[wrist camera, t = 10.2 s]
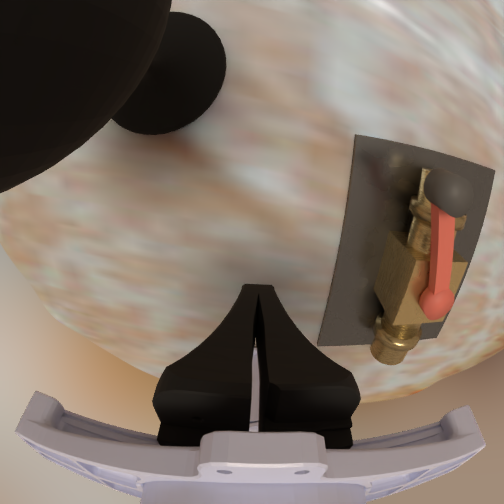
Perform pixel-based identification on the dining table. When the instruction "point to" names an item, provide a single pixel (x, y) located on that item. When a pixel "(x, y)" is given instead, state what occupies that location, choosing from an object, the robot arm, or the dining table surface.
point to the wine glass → (97, 75)
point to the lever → (443, 236)
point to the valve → (395, 247)
